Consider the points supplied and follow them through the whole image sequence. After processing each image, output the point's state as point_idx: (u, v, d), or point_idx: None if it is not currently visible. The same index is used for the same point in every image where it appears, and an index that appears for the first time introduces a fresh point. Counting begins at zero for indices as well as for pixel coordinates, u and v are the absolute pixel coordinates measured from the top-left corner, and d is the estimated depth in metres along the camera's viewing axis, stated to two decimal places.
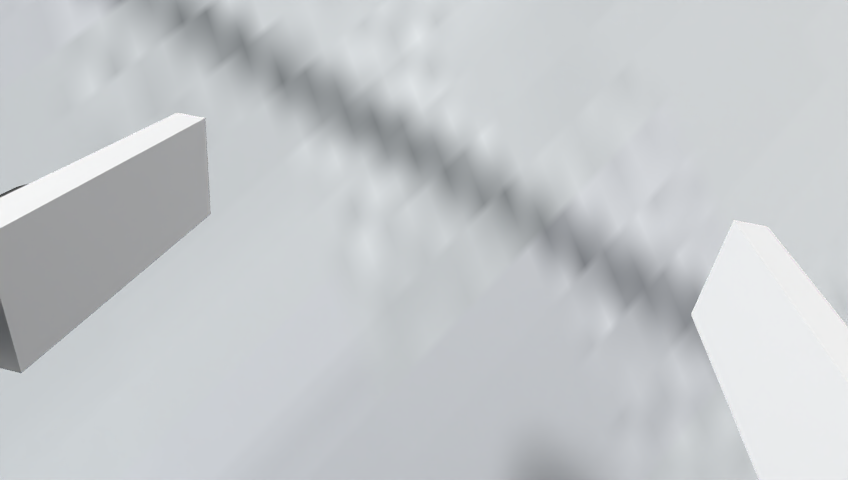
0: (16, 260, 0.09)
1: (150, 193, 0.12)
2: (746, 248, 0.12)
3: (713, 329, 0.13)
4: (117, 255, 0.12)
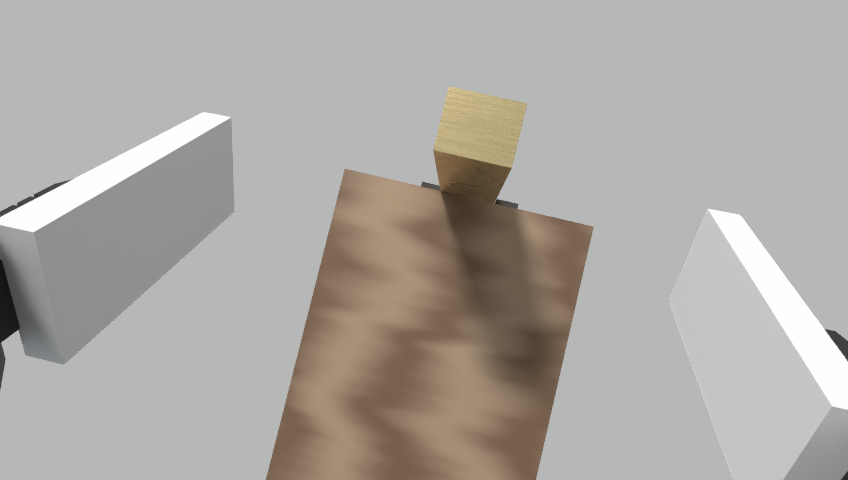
0: (62, 254, 0.09)
1: (180, 190, 0.13)
2: (718, 235, 0.12)
3: (686, 314, 0.13)
4: (150, 251, 0.12)
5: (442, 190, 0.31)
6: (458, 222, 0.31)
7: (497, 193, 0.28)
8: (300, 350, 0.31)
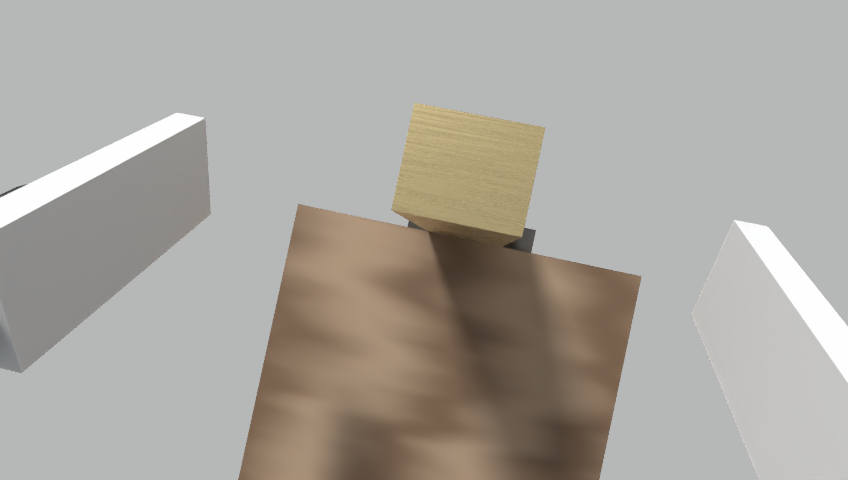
0: (16, 260, 0.09)
1: (150, 193, 0.12)
2: (746, 248, 0.12)
3: (712, 329, 0.13)
4: (117, 255, 0.12)
5: (430, 231, 0.23)
6: (453, 274, 0.23)
7: (504, 244, 0.19)
8: (247, 450, 0.23)
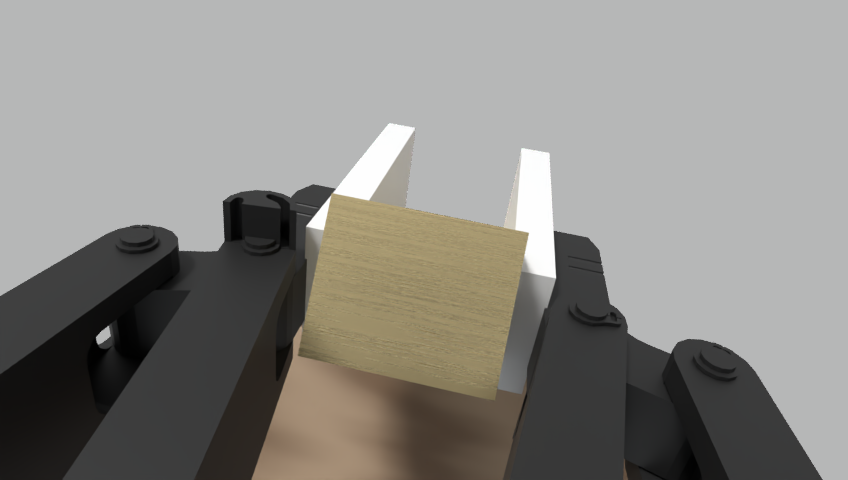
0: None
1: (391, 196, 0.14)
2: (519, 167, 0.14)
3: None
4: None
5: None
6: None
7: None
8: None
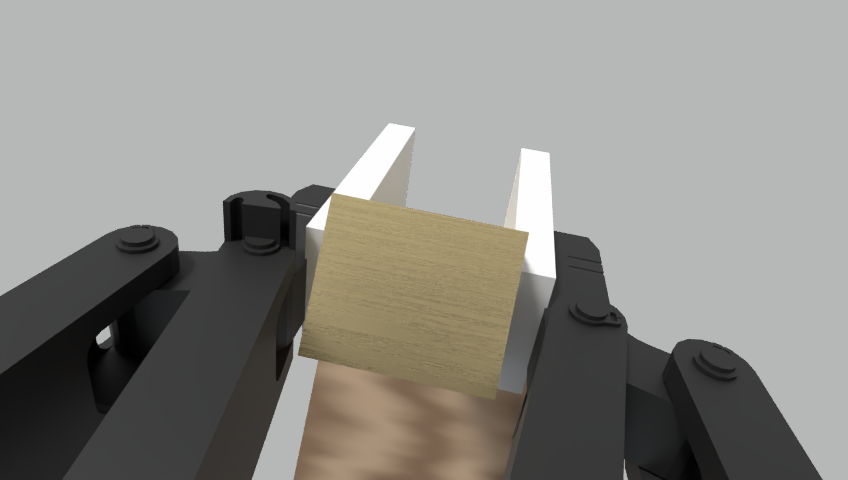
0: None
1: (391, 196, 0.14)
2: (519, 167, 0.14)
3: None
4: None
5: None
6: None
7: None
8: None
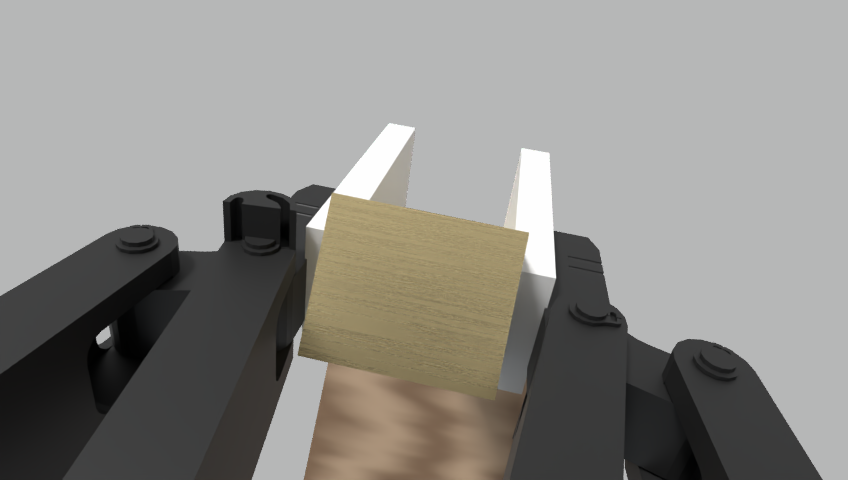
0: None
1: (391, 196, 0.14)
2: (519, 167, 0.14)
3: None
4: None
5: None
6: None
7: None
8: None
